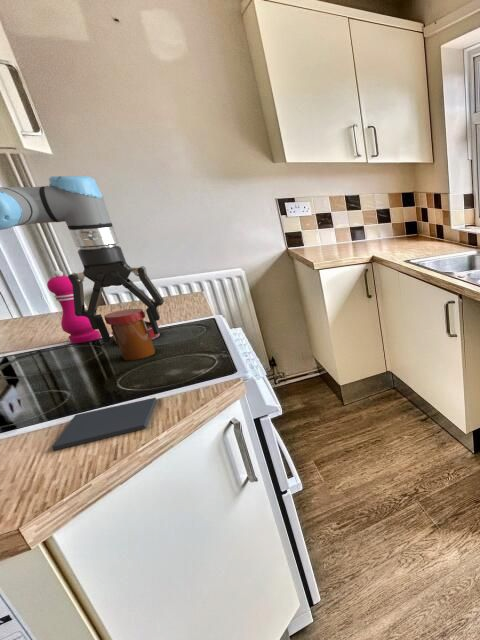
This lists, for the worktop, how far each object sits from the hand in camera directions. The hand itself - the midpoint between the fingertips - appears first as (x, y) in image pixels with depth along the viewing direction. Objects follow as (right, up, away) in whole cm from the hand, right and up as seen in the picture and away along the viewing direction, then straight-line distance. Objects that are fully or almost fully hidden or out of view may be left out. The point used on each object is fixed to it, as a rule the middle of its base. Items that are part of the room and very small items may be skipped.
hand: (132, 336), depth 106 cm
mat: (+22, -16, -29) cm, 40 cm away
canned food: (-11, -1, +14) cm, 18 cm away
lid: (0, +5, -2) cm, 6 cm away
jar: (0, -5, +2) cm, 5 cm away
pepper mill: (-26, -1, +14) cm, 30 cm away
